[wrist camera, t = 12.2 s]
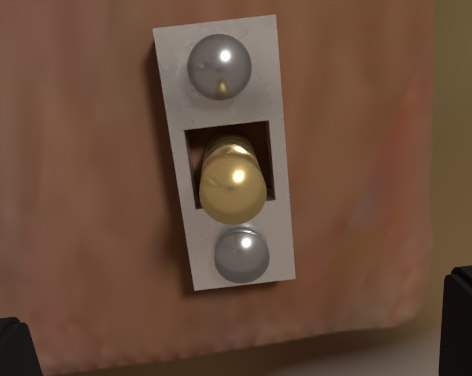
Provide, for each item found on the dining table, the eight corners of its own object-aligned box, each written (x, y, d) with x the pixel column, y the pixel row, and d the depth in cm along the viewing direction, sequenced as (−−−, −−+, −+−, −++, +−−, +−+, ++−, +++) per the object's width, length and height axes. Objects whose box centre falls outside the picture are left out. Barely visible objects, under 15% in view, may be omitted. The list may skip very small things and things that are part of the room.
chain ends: (289, 261, 32) (297, 286, 28) (196, 272, 32) (193, 298, 28) (270, 17, 26) (278, 13, 23) (158, 30, 26) (149, 27, 23)
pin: (236, 188, 30) (242, 236, 22) (194, 163, 29) (186, 203, 22) (263, 149, 29) (279, 184, 21) (221, 121, 28) (223, 147, 21)
